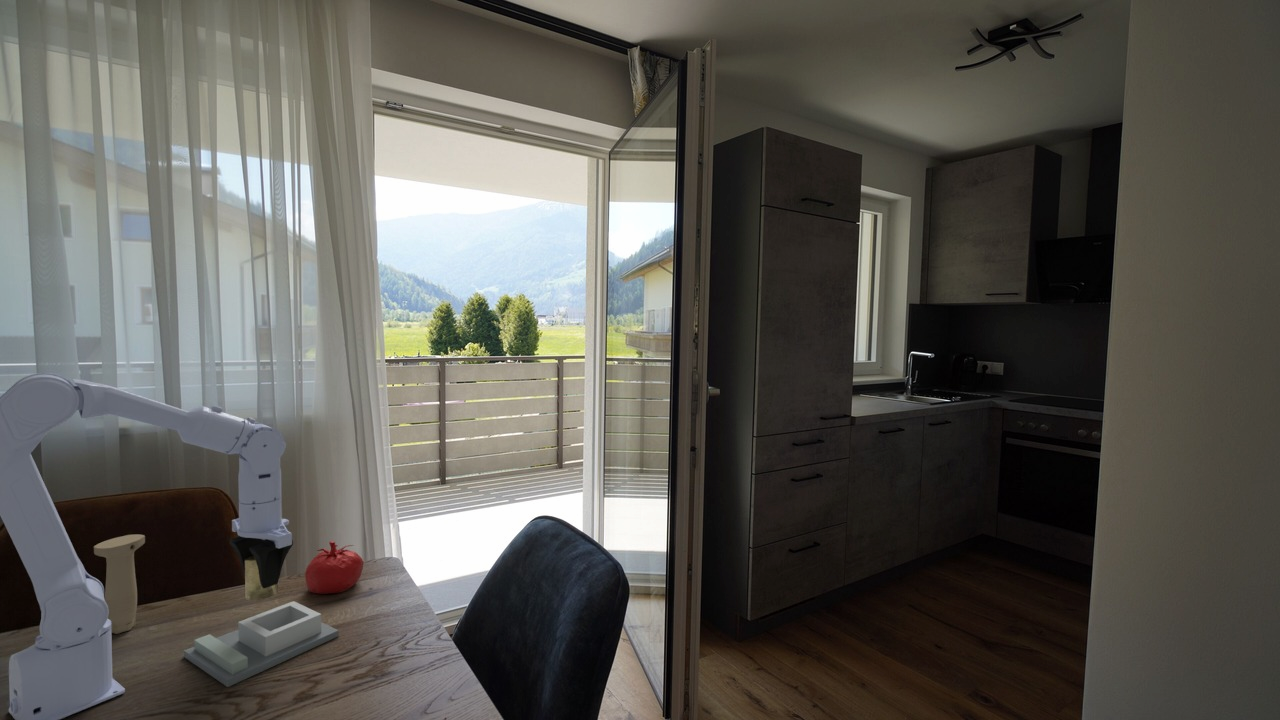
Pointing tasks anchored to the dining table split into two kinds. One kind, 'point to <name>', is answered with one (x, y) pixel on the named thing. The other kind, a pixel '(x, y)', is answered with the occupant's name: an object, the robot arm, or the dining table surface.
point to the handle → (120, 579)
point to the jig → (260, 643)
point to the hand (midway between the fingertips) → (261, 582)
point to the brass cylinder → (256, 582)
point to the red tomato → (333, 570)
